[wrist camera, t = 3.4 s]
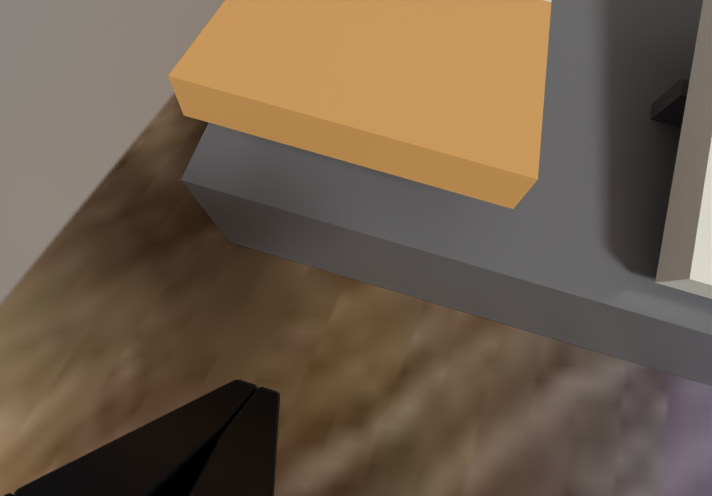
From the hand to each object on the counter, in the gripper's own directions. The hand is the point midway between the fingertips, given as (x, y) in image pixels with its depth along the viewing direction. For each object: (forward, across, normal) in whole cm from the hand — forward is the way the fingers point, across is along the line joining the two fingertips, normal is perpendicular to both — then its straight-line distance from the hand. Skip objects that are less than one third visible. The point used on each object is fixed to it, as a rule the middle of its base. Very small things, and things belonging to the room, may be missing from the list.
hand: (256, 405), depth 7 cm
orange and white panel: (+11, 0, -10) cm, 15 cm away
